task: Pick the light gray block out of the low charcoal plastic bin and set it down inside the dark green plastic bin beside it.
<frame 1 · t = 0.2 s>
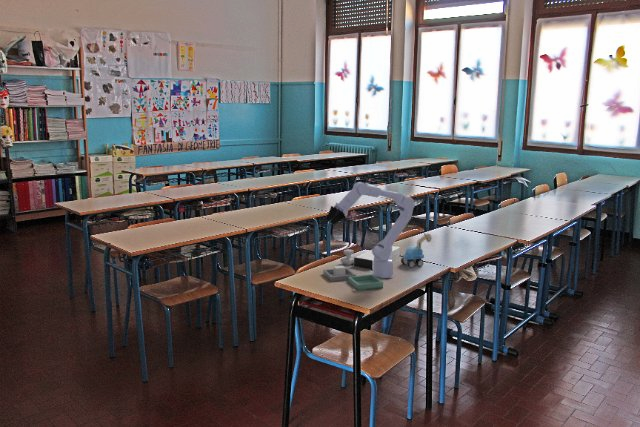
hand: (329, 221, 273), 30 cm above the table, tool tilted 45°, fingers open, 7 cm apart
light gray block: (339, 276, 284), point 1 cm above the table, touching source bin
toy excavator: (416, 265, 308), on the table
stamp: (348, 265, 308), on the table
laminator: (378, 263, 313), on the table
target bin: (365, 285, 273), on the table
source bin: (339, 278, 284), on the table
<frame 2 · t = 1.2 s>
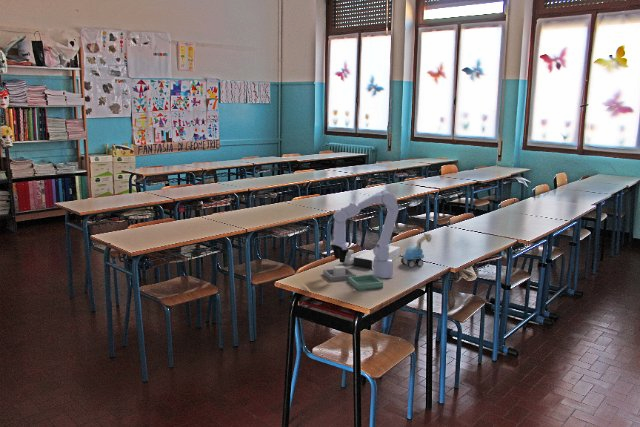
hand: (339, 260, 282), 9 cm above the table, tool pointing down, fingers open, 7 cm apart
nothing on the table moved.
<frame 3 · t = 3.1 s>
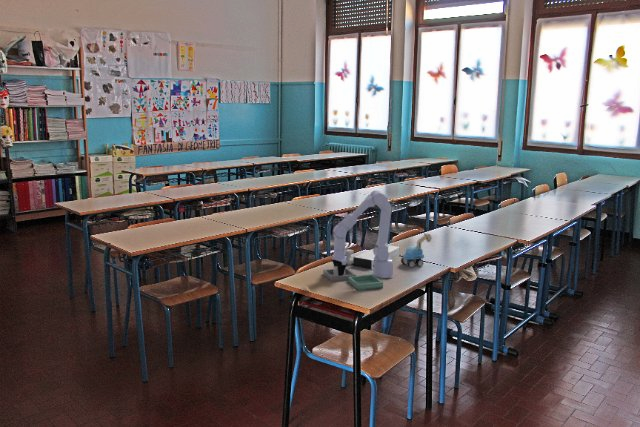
hand: (339, 274, 284), 2 cm above the table, tool pointing down, fingers closed on light gray block, 4 cm apart
light gray block: (339, 276, 284), point 1 cm above the table, touching gripper, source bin
everything else where it was.
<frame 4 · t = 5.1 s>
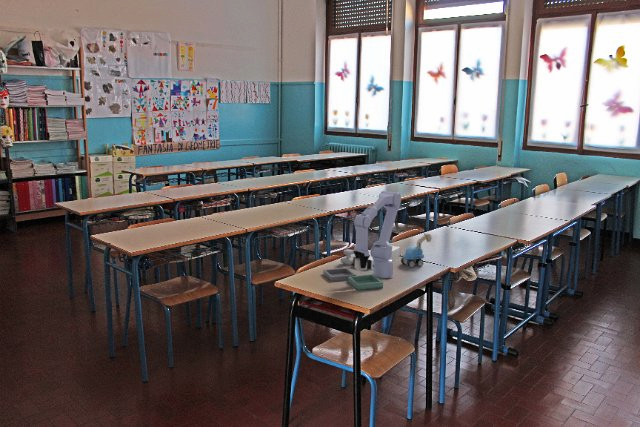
hand: (361, 266, 273), 9 cm above the table, tool pointing down, fingers closed on light gray block, 4 cm apart
light gray block: (360, 269, 273), point 8 cm above the table, touching gripper
everything else where it was.
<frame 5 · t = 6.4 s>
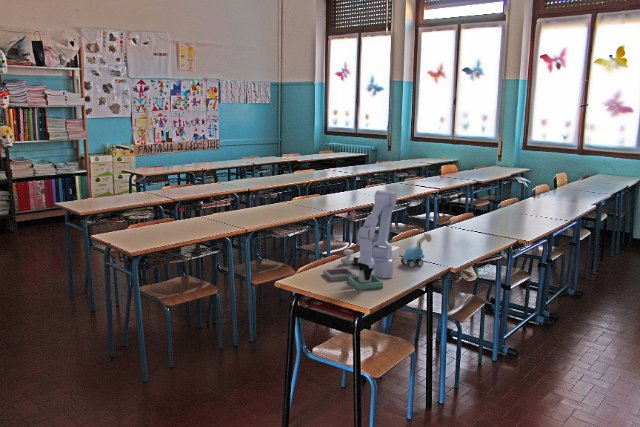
hand: (365, 278, 272), 3 cm above the table, tool pointing down, fingers closed on light gray block, 4 cm apart
light gray block: (364, 280, 272), point 2 cm above the table, touching gripper
everything else where it was.
when the fingers open (3 cm above the table, at t = 7.2 s): light gray block drops 1 cm, resting on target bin.
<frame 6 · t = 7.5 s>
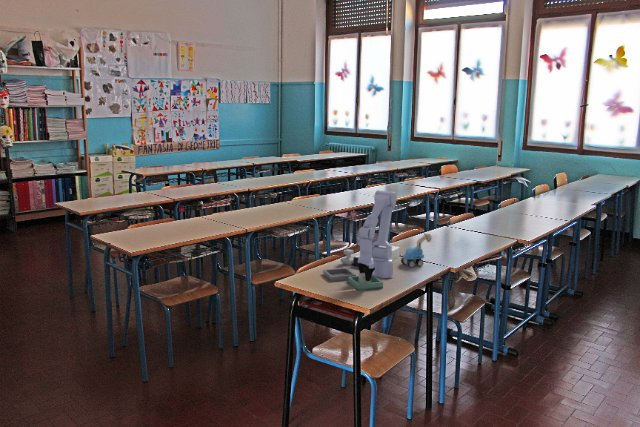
hand: (365, 278, 272), 3 cm above the table, tool pointing down, fingers open, 6 cm apart
light gray block: (364, 283, 272), point 1 cm above the table, touching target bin
everything else where it was.
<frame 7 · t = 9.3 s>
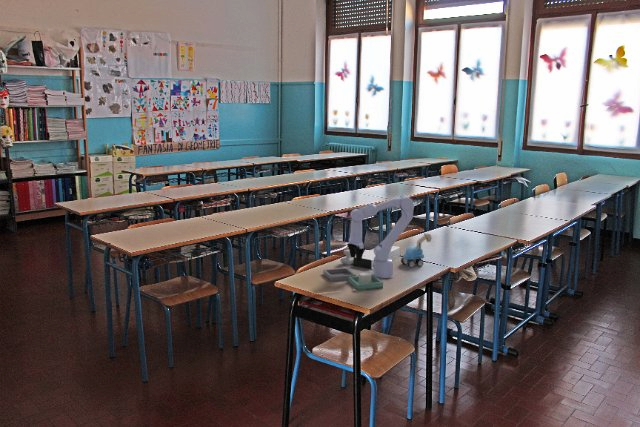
hand: (355, 259, 284), 9 cm above the table, tool pointing down, fingers open, 7 cm apart
nothing on the table moved.
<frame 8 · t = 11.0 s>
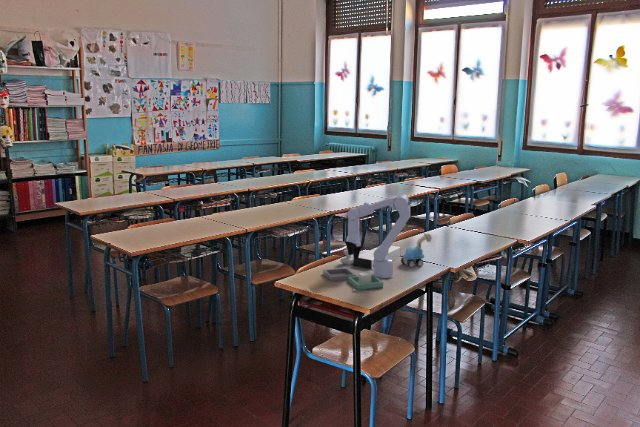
hand: (353, 256, 289), 9 cm above the table, tool pointing down, fingers open, 7 cm apart
nothing on the table moved.
at the end: light gray block inside the target area on the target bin (0.2 cm from its centre), point 0.8 cm above the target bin's base; the gripper is holding nothing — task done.
